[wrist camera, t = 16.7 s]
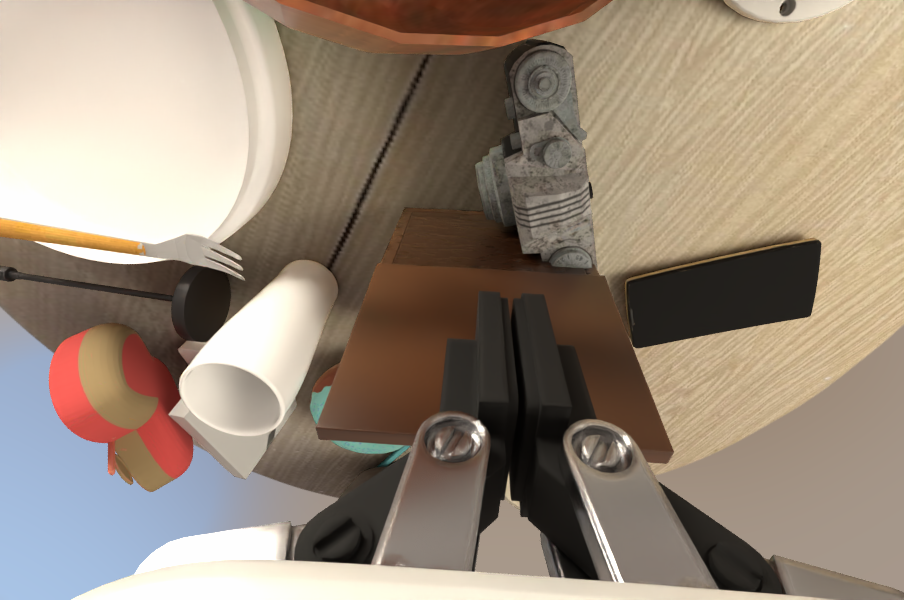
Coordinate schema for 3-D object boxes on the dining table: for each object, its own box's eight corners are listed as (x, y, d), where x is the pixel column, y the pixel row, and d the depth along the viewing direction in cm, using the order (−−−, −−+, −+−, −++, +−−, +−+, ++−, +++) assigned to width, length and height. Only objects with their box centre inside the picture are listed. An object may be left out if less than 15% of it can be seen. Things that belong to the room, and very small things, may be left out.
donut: (294, 377, 46) (279, 405, 43) (383, 332, 42) (375, 359, 39) (363, 444, 51) (354, 474, 48) (449, 410, 47) (446, 439, 44)
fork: (-47, 212, 30) (241, 253, 30) (-21, 203, 31) (253, 242, 32) (-30, 245, 31) (245, 285, 31) (-6, 235, 33) (257, 272, 33)
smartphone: (814, 316, 37) (632, 350, 40) (805, 309, 38) (628, 343, 41) (825, 239, 33) (624, 283, 36) (816, 234, 34) (621, 276, 37)
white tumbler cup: (260, 259, 39) (153, 371, 26) (328, 241, 37) (249, 349, 25) (296, 320, 42) (216, 445, 29) (359, 304, 41) (304, 429, 28)
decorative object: (188, 384, 48) (209, 488, 38) (152, 403, 47) (163, 515, 36) (107, 289, 40) (105, 389, 29) (60, 309, 38) (40, 421, 28)
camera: (454, 61, 30) (443, 74, 21) (554, 31, 28) (585, 32, 20) (498, 253, 37) (503, 319, 28) (579, 235, 36) (609, 300, 27)
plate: (220, 297, 41) (187, 331, 36) (-110, 114, 34) (-203, 127, 29) (361, 23, 29) (337, 22, 24) (-112, -358, 21) (-275, -465, 17)
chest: (550, 331, 41) (568, 413, 32) (407, 323, 42) (387, 401, 33) (571, 215, 35) (601, 277, 26) (404, 207, 35) (378, 264, 27)
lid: (668, 464, 17) (674, 452, 16) (318, 440, 17) (315, 427, 17) (601, 286, 26) (604, 275, 26) (378, 273, 27) (376, 262, 26)
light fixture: (-23, 295, 42) (228, 332, 41) (-115, 306, 35) (181, 351, 35) (-25, 225, 41) (232, 263, 40) (-120, 223, 34) (185, 268, 34)
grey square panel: (270, 327, 44) (243, 325, 46) (171, 393, 35) (141, 388, 36) (304, 420, 49) (278, 416, 50) (224, 500, 40) (196, 492, 41)
